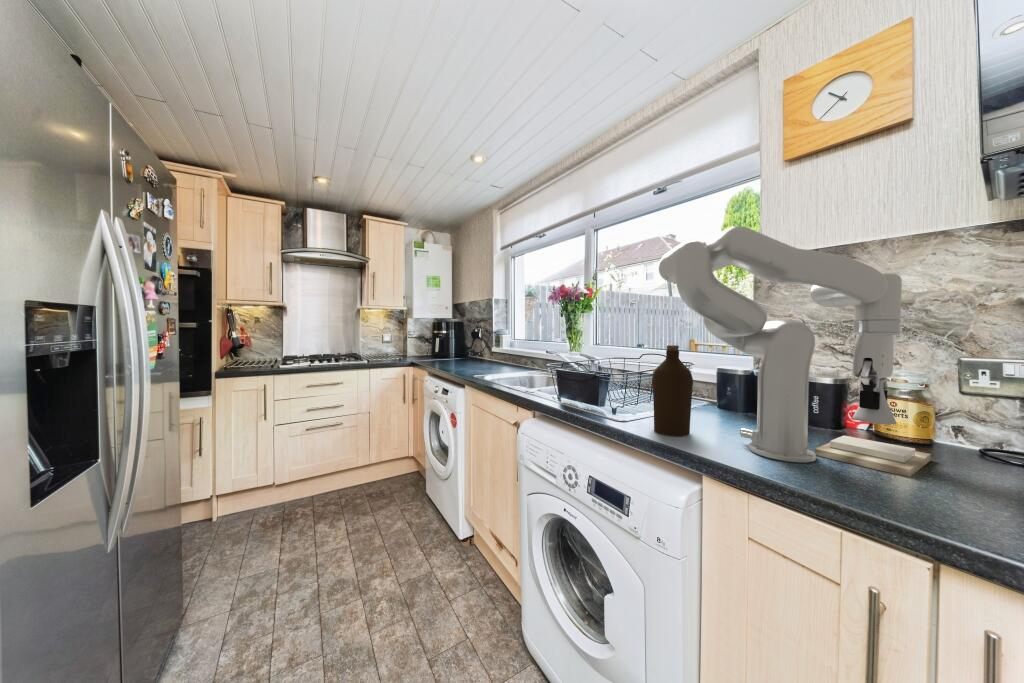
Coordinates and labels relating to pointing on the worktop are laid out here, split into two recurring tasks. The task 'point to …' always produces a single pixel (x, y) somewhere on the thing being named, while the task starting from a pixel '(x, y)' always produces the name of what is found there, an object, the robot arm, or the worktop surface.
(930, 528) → the worktop surface
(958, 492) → the worktop surface
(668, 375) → the olive oil
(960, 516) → the worktop surface
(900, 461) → the tile
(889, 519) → the worktop surface
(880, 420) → the flask
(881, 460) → the board
